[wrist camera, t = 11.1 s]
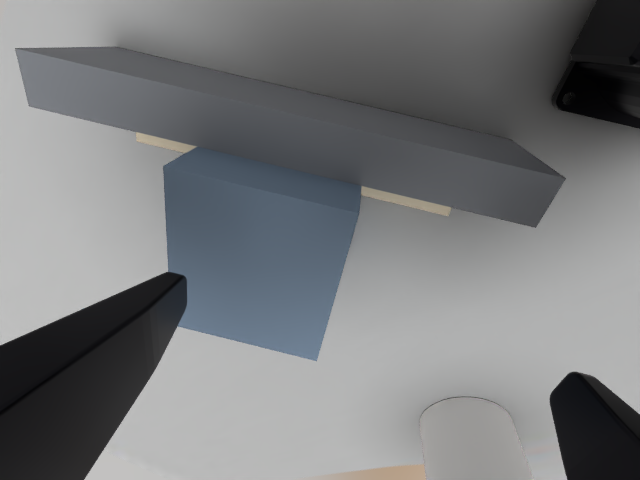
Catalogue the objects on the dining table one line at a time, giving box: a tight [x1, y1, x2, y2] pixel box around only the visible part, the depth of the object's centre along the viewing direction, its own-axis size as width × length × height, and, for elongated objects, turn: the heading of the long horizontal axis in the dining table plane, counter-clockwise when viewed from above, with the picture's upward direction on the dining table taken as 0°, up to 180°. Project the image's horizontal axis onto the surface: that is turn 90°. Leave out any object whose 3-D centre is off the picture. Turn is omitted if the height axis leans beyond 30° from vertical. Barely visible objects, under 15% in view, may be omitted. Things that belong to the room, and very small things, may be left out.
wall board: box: [15, 47, 566, 228], centre depth 15 cm, size 20×4×6 cm, turn 79°
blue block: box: [163, 147, 362, 361], centre depth 16 cm, size 6×8×8 cm
